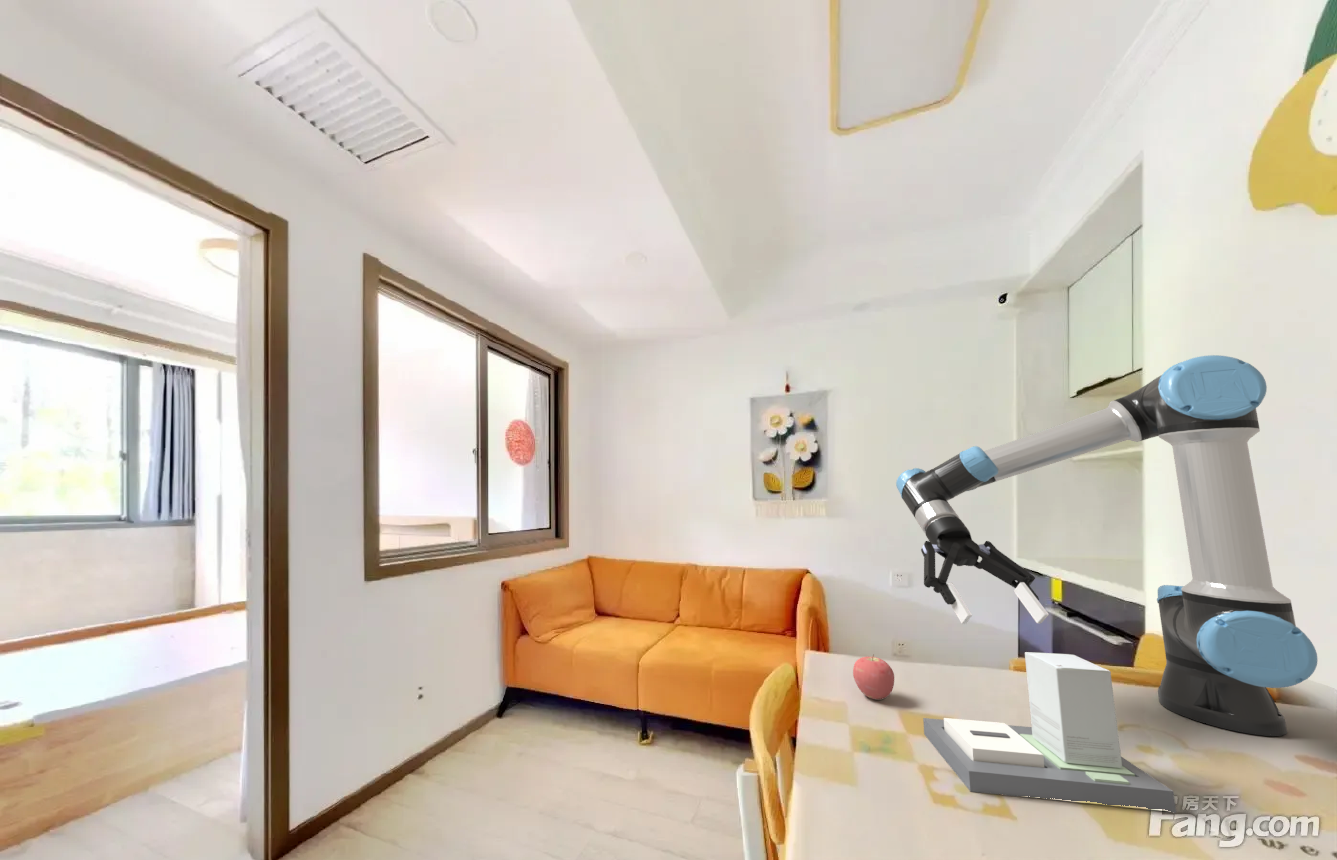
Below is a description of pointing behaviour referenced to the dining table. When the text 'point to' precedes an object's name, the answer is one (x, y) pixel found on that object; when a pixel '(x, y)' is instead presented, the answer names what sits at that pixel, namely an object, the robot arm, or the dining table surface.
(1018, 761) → the grey flat rectangular block
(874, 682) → the apple
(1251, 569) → the robot arm
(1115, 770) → the key
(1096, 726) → the supplement box
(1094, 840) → the dining table surface
